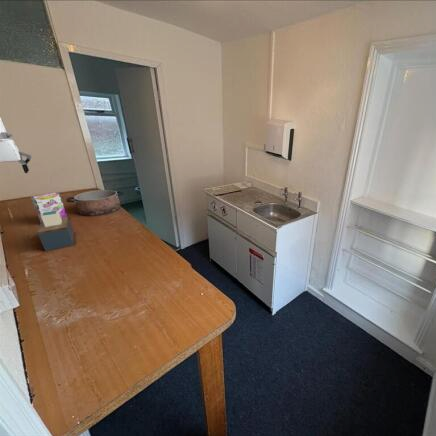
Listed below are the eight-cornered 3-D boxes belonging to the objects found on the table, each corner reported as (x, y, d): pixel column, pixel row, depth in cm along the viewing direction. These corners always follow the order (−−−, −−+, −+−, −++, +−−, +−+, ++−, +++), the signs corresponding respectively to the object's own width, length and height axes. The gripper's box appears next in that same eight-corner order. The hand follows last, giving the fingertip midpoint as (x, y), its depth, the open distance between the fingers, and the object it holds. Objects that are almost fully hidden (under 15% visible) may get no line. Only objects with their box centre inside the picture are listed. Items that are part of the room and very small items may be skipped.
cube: (45, 227, 111) (40, 216, 108) (46, 223, 114) (42, 212, 112) (61, 224, 114) (57, 213, 112) (62, 220, 118) (58, 210, 116)
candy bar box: (45, 225, 133) (33, 198, 127) (41, 223, 135) (29, 196, 129) (69, 218, 143) (59, 193, 136) (65, 217, 144) (55, 192, 138)
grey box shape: (45, 251, 110) (37, 232, 106) (48, 237, 121) (41, 220, 117) (73, 245, 116) (66, 227, 112) (74, 233, 127) (68, 216, 123)
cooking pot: (71, 220, 141) (65, 203, 137) (71, 209, 156) (66, 194, 152) (129, 210, 159) (125, 195, 154) (125, 201, 174) (121, 187, 170)
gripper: (25, 135, 114) (38, 170, 120) (-32, 136, 103) (-13, 174, 110) (22, 137, 108) (36, 173, 115) (-38, 137, 98) (-18, 177, 105)
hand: (12, 173), depth 113 cm, fingers open, 9 cm apart
